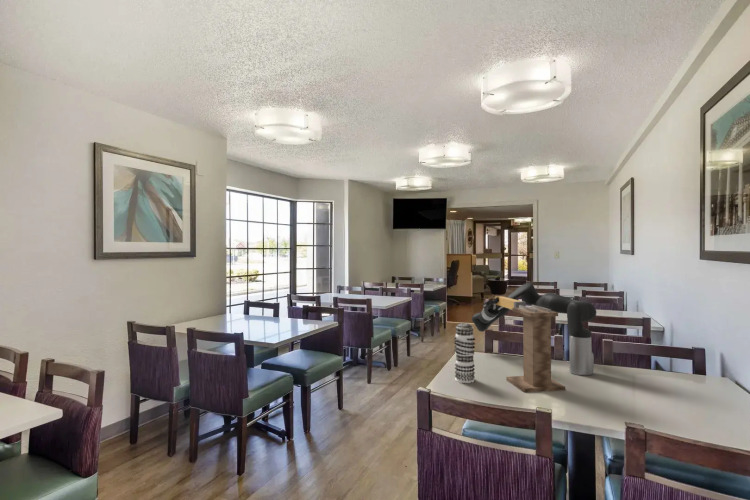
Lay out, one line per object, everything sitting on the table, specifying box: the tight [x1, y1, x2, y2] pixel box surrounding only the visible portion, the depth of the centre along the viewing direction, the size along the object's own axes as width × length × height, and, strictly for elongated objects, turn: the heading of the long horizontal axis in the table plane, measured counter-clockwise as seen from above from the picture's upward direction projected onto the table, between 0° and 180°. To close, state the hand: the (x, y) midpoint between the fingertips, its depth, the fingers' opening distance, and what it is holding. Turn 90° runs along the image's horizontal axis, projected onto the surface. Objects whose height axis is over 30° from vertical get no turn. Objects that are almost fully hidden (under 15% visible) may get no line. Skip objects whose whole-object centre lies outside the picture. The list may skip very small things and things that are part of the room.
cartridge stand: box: [505, 305, 566, 393], centre depth 176 cm, size 18×16×33 cm
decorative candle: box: [453, 322, 476, 384], centre depth 183 cm, size 9×9×25 cm
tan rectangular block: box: [494, 295, 527, 310], centre depth 199 cm, size 5×23×4 cm, turn 8°
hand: (502, 298), depth 206 cm, fingers closed on tan rectangular block, 4 cm apart
